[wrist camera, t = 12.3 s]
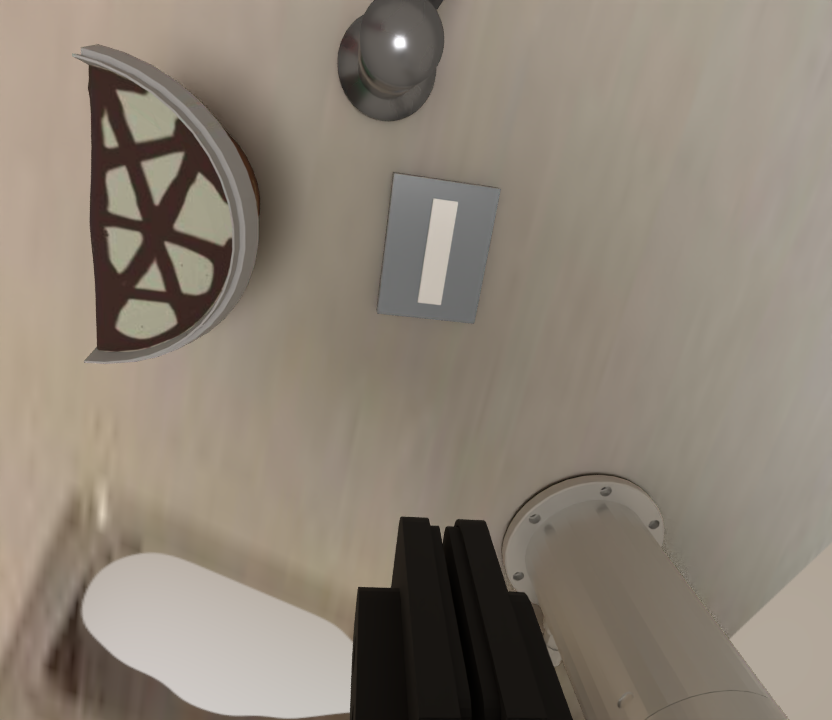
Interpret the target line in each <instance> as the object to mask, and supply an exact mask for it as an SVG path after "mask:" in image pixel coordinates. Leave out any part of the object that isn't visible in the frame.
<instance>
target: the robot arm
mask: <svg viewBox="0 0 832 720" xmlns="http://www.w3.org/2000/svg"><path fill="white" fill-rule="evenodd" d="M664 531H665V528H664V522H663V517H662V515H661V513H660V511H659V509H658V507H657V505H656V504H655V503H654V501H653V500H652V499H651V498H650V496H649V495H648V494H647V493H646V492H645V491H644V490H642V489H641V488H640V487H639V486H637V485H635V484H633V483H632V482H630V481H628V480H625V479H621V478H618V477H615V476H606V475H590V476H581V477H577V478H572V479H568V480H565V481H563V482H560V483H558V484H555V485H553V486H551V487H549V488H547V489H546V490H544V491H542V492H540V493H539V494H537V495H536V496H535V497H534V498H532V499H531V500H530V501H529V502H527V503H526V504H525V505H524V506H523V508H522V509H521V510H520V511H519V512H518V513H517V514H516V516H515V517H514V519H513V520H512V522H511V524H510V525H509V527H508V529H507V532H506V535H505V537H504V541H503V548H502V557H503V564H504V567H505V570H506V574H507V577H508V579H509V580H510V582H511V584H512V586H513V587H514V589H515V590H516V591H517V592H508V591H507V587H506V584H505V581H504V578H503V575H502V571H501V568H500V565H499V562H498V559H497V556H496V552H495V549H494V546H493V543H492V540H491V536H490V533H489V530H488V527H487V524H486V522H485V521H484V520H463V519H457V520H456V522H455V525H454V527H450V526H447V527H446V528H445V532H444V538H443V544H442V539H441V533H440V528H439V526H430V522H429V519H428V518H419V517H400V521H399V528H398V536H397V544H396V552H395V560H394V568H393V576H392V584H391V588H373V587H358V592H357V601H356V612H355V623H354V636H353V653H352V676H351V701H350V702H351V703H350V720H573V719H572V716H571V713H570V710H569V708H568V705H567V702H566V699H565V696H564V694H563V691H562V688H561V685H560V683H559V680H558V677H557V674H556V671H555V669H554V667H556V666H558V665H559V664H560V662H561V660H562V661H563V663H564V666H565V668H566V671H567V674H568V676H569V679H570V681H571V684H572V686H573V689H574V691H575V694H576V696H577V699H578V701H579V704H580V706H581V709H582V712H583V714H584V717H585V719H586V720H789V719H788V718H787V716H786V715H785V713H784V712H783V711H782V709H781V708H780V707H779V706H778V705H777V703H776V702H775V701H774V699H773V698H772V697H771V695H770V694H769V693H768V691H767V690H766V689H765V687H764V686H763V684H762V683H761V682H760V680H759V679H758V678H757V676H756V675H755V674H754V672H753V671H752V670H751V668H750V667H749V665H748V664H747V663H746V661H745V660H744V659H743V657H742V656H741V655H740V653H739V652H738V651H737V649H736V648H735V647H734V645H733V644H732V643H731V641H730V640H729V638H728V637H727V636H726V634H725V633H724V632H723V630H722V629H721V628H720V626H719V625H718V624H717V622H716V621H715V619H714V618H713V617H712V615H711V614H710V613H709V611H708V610H707V609H706V607H705V606H704V605H703V603H702V602H701V601H700V599H699V598H698V596H697V595H696V594H695V592H694V591H693V590H692V588H691V587H690V586H689V584H688V583H687V582H686V580H685V579H684V578H683V576H682V575H681V573H680V572H679V571H678V569H677V568H676V567H675V565H674V564H673V563H672V561H671V560H670V559H669V557H668V556H667V555H666V553H665V552H664V550H663V549H662V545H663V542H664ZM531 603H534V604H536V605H539V606H540V607H541V610H542V612H543V615H544V619H543V626H544V628H545V632H544V633H543V635H542V632H541V629H540V627H539V624H538V621H537V618H536V616H535V613H534V610H533V607H532V604H531Z"/></svg>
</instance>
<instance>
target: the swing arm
mask: <svg viewBox="0 0 832 720" xmlns="http://www.w3.org/2000/svg"><path fill="white" fill-rule="evenodd" d="M428 1H429V2H430V3H431V4H432V5H433V6H434V8H435V9H436V10H437V9H438V7H439V6H440V4H441V3H442V1H443V0H428Z"/></svg>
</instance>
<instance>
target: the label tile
mask: <svg viewBox="0 0 832 720" xmlns="http://www.w3.org/2000/svg"><path fill="white" fill-rule="evenodd" d="M500 190H501V189H499V188H496V187H490V186H483V185H476V184H469V183H462V182H456V181H449V180H442V179H435V178H429V177H422V176H415V175H408V174H401V173H395V172H393V180H392V188H391V196H390V205H389V213H388V221H387V229H386V237H385V245H384V254H383V262H382V270H381V278H380V286H379V294H378V302H377V313H378V314H387V315H397V316H406V317H416V318H425V319H435V320H444V321H454V322H463V323H473V324H474V322H475V317H476V312H477V307H478V302H479V297H480V292H481V287H482V281H483V276H484V271H485V266H486V261H487V256H488V251H489V246H490V241H491V236H492V231H493V226H494V221H495V216H496V211H497V205H498V200H499V195H500Z"/></svg>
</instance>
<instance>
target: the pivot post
mask: <svg viewBox="0 0 832 720" xmlns="http://www.w3.org/2000/svg"><path fill="white" fill-rule="evenodd" d="M443 48H444V31H443V26H442V22H441V19H440V17H439V15H438V13H437V11H436V9H435V8H434V6H433V5H432V4H431V3H430V2H429V1H428V0H374V1H373V2H372V3H371V4H370V6H369V7H368V9H367V10H366V12H365V14H364V15H362V16H361V17H359V18H358V19H357V20H355V21H354V22H353V23H352V24H351V26H350V27H349V28H348V30H347V31H346V33H345V35H344V37H343V39H342V41H341V44H340V48H339V53H338V74H339V78H340V82H341V85H342V88H343V90H344V92H345V94H346V96H347V97H348V99H349V100H350V102H351V103H352V104H353V105H354V106H355V107H356V108H357V109H358V110H359V111H360V112H362V113H363V114H365V115H367V116H368V117H371V118H373V119H376V120H381V121H395V120H400V119H403V118H405V117H407V116H409V115H411V114H413V113H414V112H416V111H417V110H418V109H419V108H420V107H421V106H422V105H423V104H424V102H425V101H426V100H427V98H428V96H429V95H430V93H431V90H432V88H433V85H434V81H435V76H436V67H437V65H438V63H439V61H440V59H441V56H442V53H443Z"/></svg>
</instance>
